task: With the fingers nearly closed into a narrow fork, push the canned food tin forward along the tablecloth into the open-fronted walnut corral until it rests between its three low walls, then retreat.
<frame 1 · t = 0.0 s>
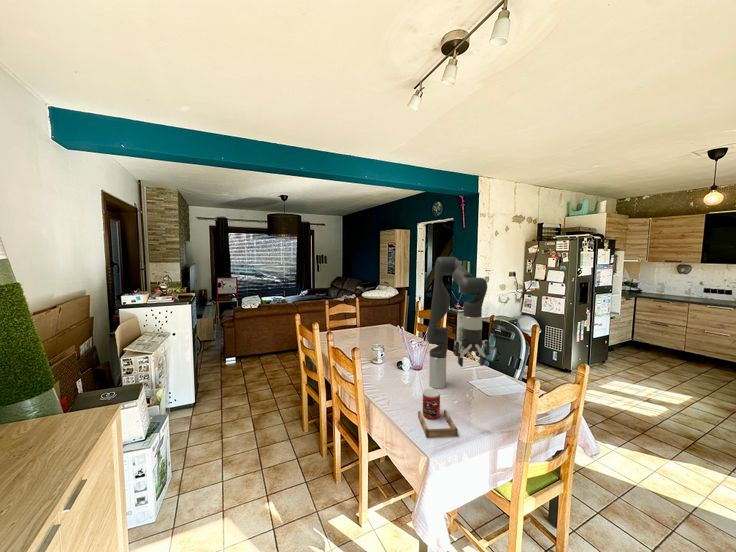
hand: (471, 365, 125), 29 cm above the table, fingers open, 8 cm apart
corral: (436, 426, 133), on the table
canned food: (431, 415, 142), on the table
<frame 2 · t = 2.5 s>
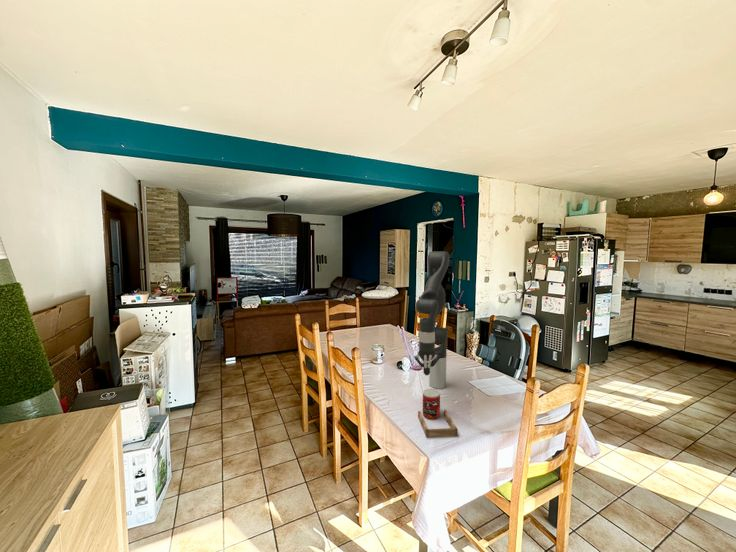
hand: (426, 374, 150), 16 cm above the table, fingers closed
nothing on the table moved.
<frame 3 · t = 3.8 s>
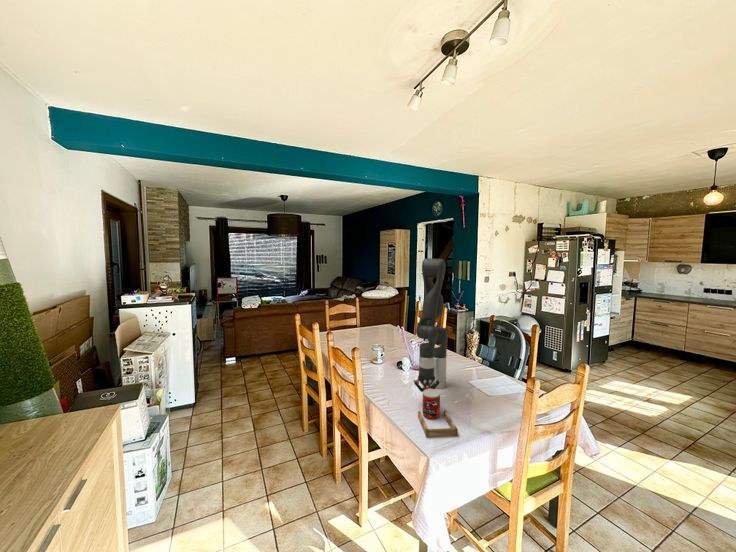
hand: (426, 399, 151), 3 cm above the table, fingers closed
nothing on the table moved.
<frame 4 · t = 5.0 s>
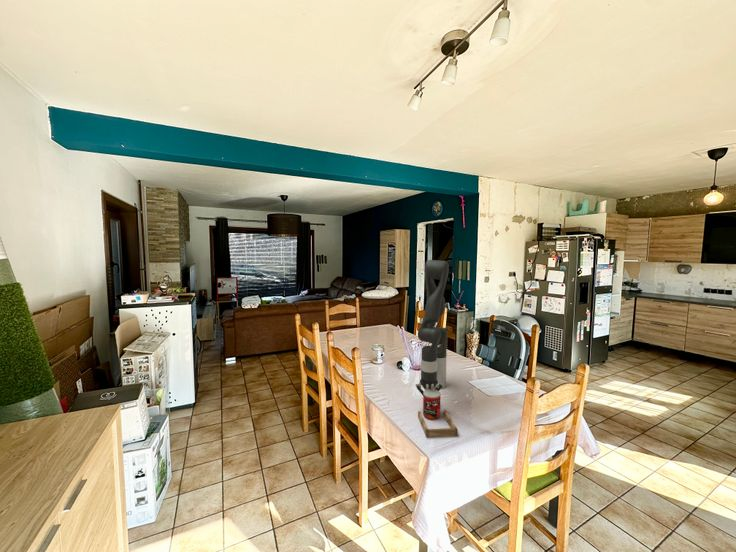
hand: (428, 403, 146), 3 cm above the table, fingers closed
canned food: (431, 415, 142), on the table, touching gripper
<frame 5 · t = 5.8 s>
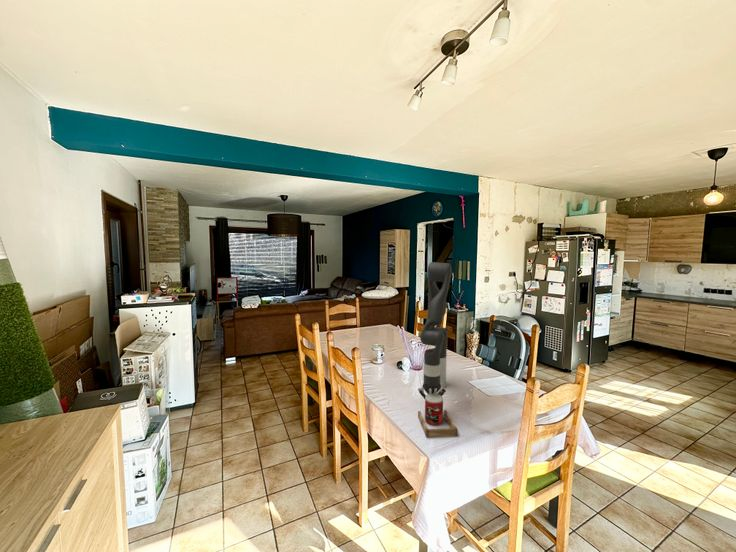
hand: (431, 408, 142), 3 cm above the table, fingers closed
canned food: (433, 421, 137), on the table, touching gripper
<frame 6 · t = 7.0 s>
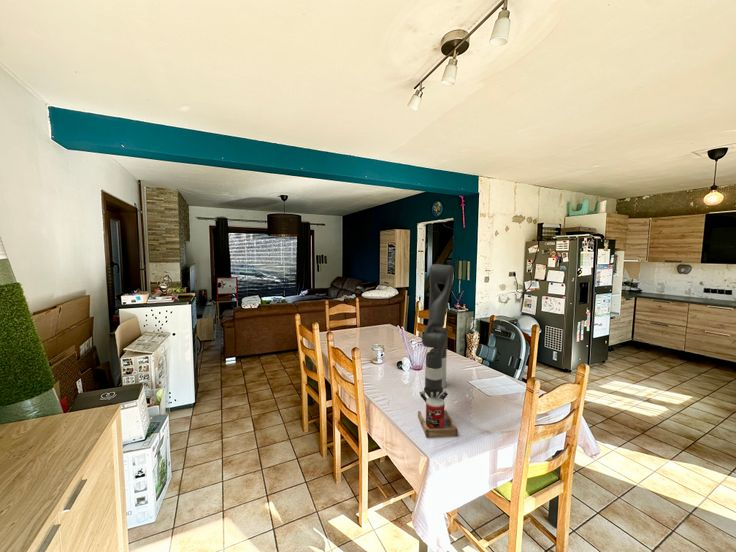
hand: (433, 412, 139), 3 cm above the table, fingers closed
canned food: (434, 425, 134), on the table, touching gripper
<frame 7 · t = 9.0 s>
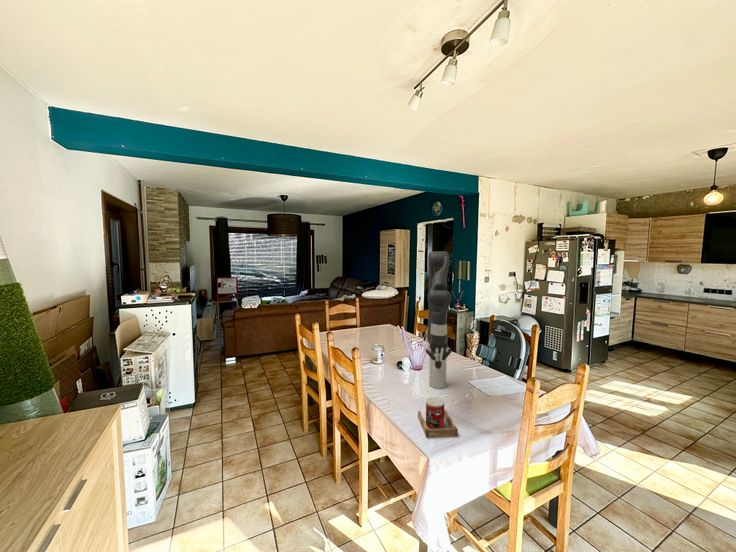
hand: (437, 368, 145), 21 cm above the table, fingers closed
canned food: (434, 425, 134), on the table
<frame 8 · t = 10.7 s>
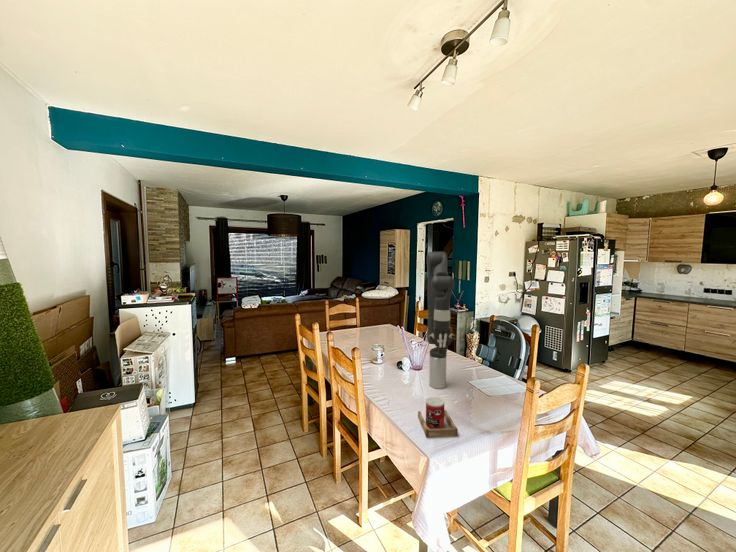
hand: (441, 354, 145), 27 cm above the table, fingers closed
nothing on the table moved.
at the end: canned food inside the target area on the corral (0.5 cm from its centre), point 0.0 cm above the corral's base; canned food tilted 0°; the gripper is holding nothing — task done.
